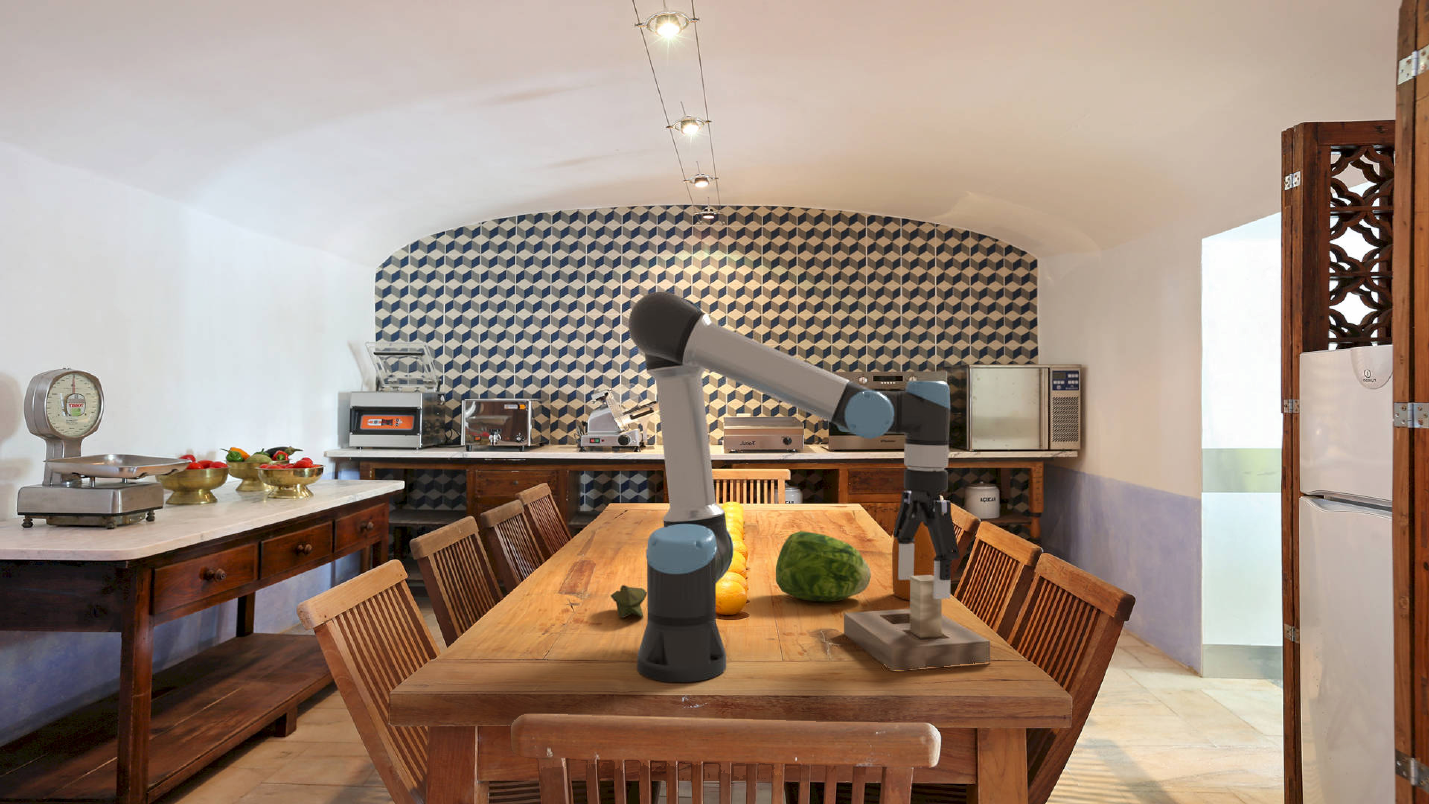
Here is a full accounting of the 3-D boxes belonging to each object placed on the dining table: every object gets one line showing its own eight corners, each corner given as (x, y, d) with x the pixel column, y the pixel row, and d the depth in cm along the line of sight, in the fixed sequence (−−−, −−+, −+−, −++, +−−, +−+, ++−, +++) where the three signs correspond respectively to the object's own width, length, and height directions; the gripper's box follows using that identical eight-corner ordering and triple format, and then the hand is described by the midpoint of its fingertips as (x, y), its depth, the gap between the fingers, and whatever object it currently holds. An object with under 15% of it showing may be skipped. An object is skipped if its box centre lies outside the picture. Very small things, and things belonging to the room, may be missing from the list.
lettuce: (867, 623, 175) (887, 554, 177) (774, 592, 175) (795, 524, 177) (850, 613, 191) (869, 550, 193) (765, 585, 191) (785, 522, 193)
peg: (920, 661, 143) (920, 581, 142) (909, 654, 147) (909, 576, 146) (941, 659, 143) (942, 580, 143) (930, 652, 147) (930, 574, 147)
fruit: (666, 614, 173) (666, 583, 173) (631, 628, 163) (631, 595, 163) (623, 606, 179) (623, 576, 179) (587, 620, 169) (587, 588, 169)
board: (892, 672, 137) (892, 648, 137) (843, 633, 159) (844, 613, 159) (990, 664, 141) (990, 641, 141) (929, 627, 163) (929, 607, 163)
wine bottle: (937, 603, 181) (938, 467, 180) (892, 601, 183) (892, 466, 182) (935, 592, 191) (935, 463, 190) (891, 590, 193) (892, 462, 192)
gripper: (983, 476, 133) (979, 606, 134) (913, 461, 157) (910, 571, 158) (941, 476, 131) (937, 608, 132) (877, 461, 156) (874, 572, 156)
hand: (922, 588), depth 145 cm, fingers open, 13 cm apart
